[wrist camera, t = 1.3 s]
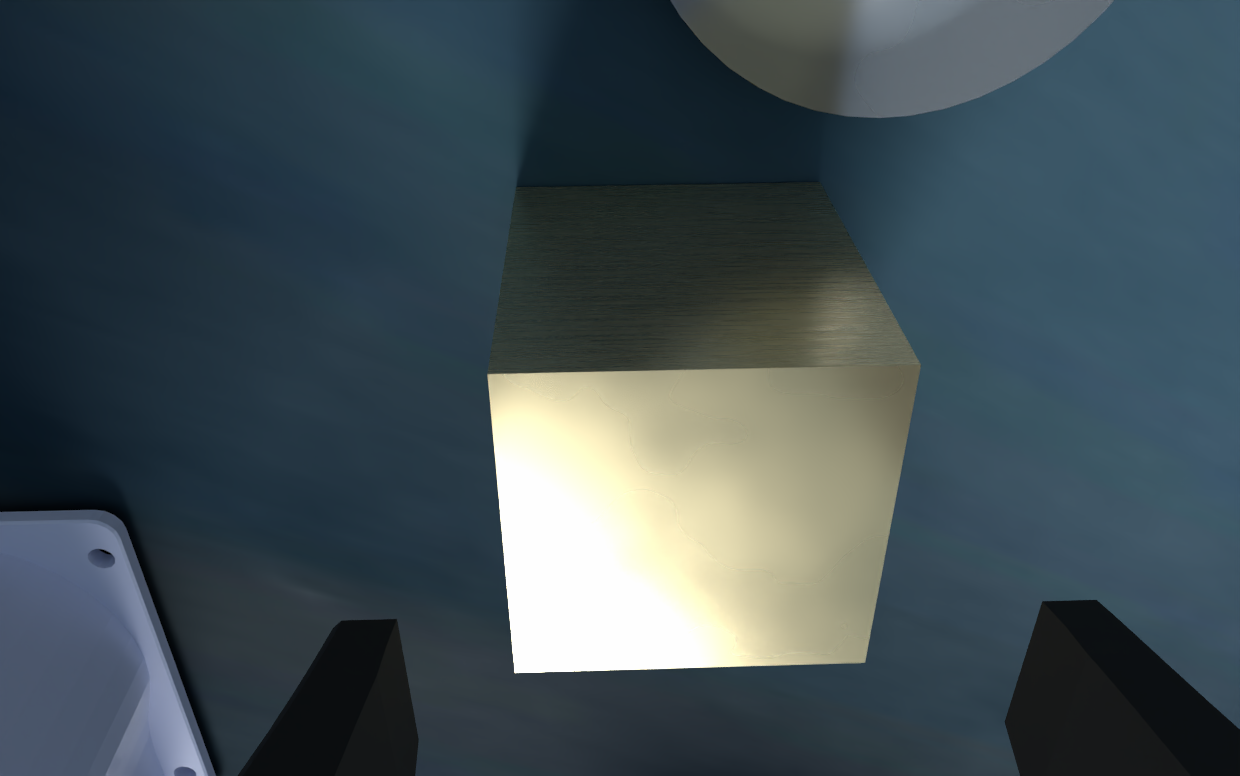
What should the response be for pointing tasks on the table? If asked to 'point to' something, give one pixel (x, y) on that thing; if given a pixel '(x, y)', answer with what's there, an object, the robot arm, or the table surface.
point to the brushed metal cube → (693, 428)
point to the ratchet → (885, 47)
